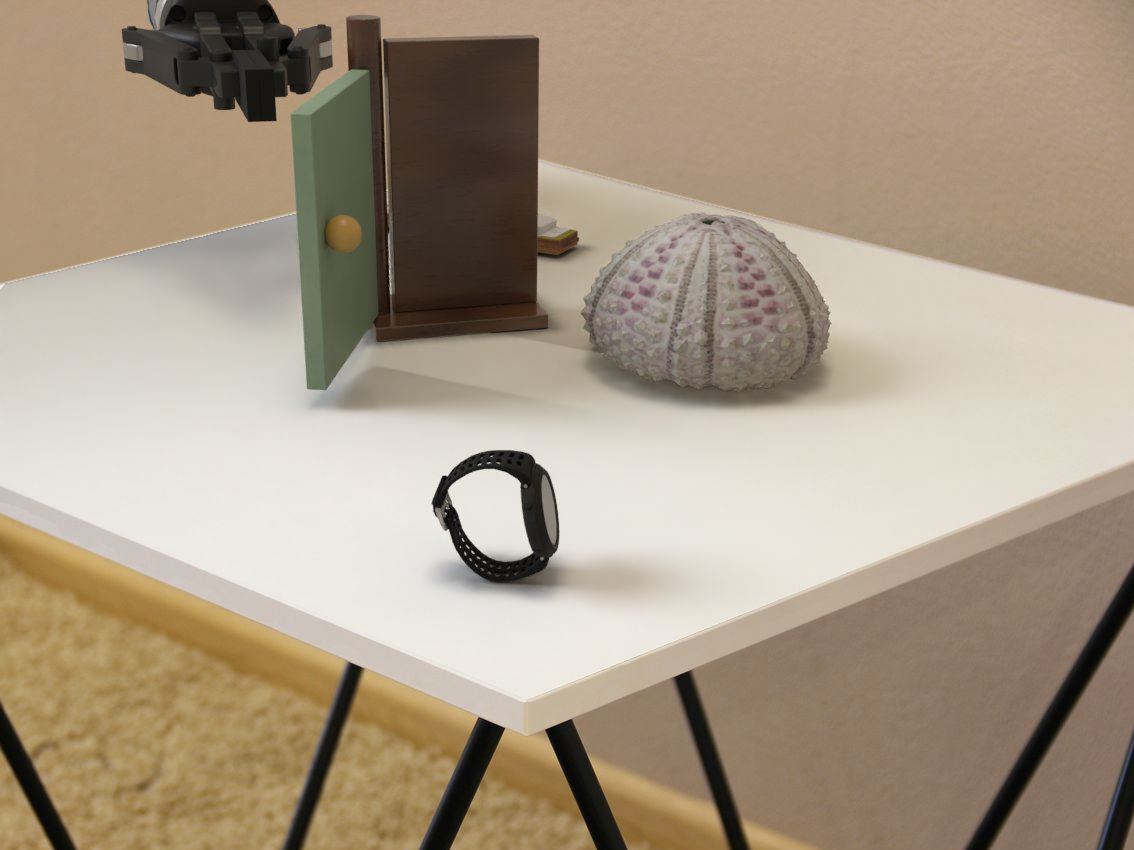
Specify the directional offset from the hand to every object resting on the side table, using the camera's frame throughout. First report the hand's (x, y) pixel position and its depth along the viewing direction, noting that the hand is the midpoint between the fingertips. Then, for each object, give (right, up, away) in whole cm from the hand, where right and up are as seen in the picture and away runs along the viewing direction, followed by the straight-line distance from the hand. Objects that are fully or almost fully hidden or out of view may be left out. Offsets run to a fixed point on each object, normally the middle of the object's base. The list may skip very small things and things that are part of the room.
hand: (260, 95), depth 80 cm
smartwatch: (+14, -24, -19) cm, 34 cm away
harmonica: (+9, -4, +24) cm, 26 cm away
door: (+5, -13, 0) cm, 14 cm away
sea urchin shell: (+24, -14, +3) cm, 28 cm away
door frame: (+9, -11, +9) cm, 16 cm away
